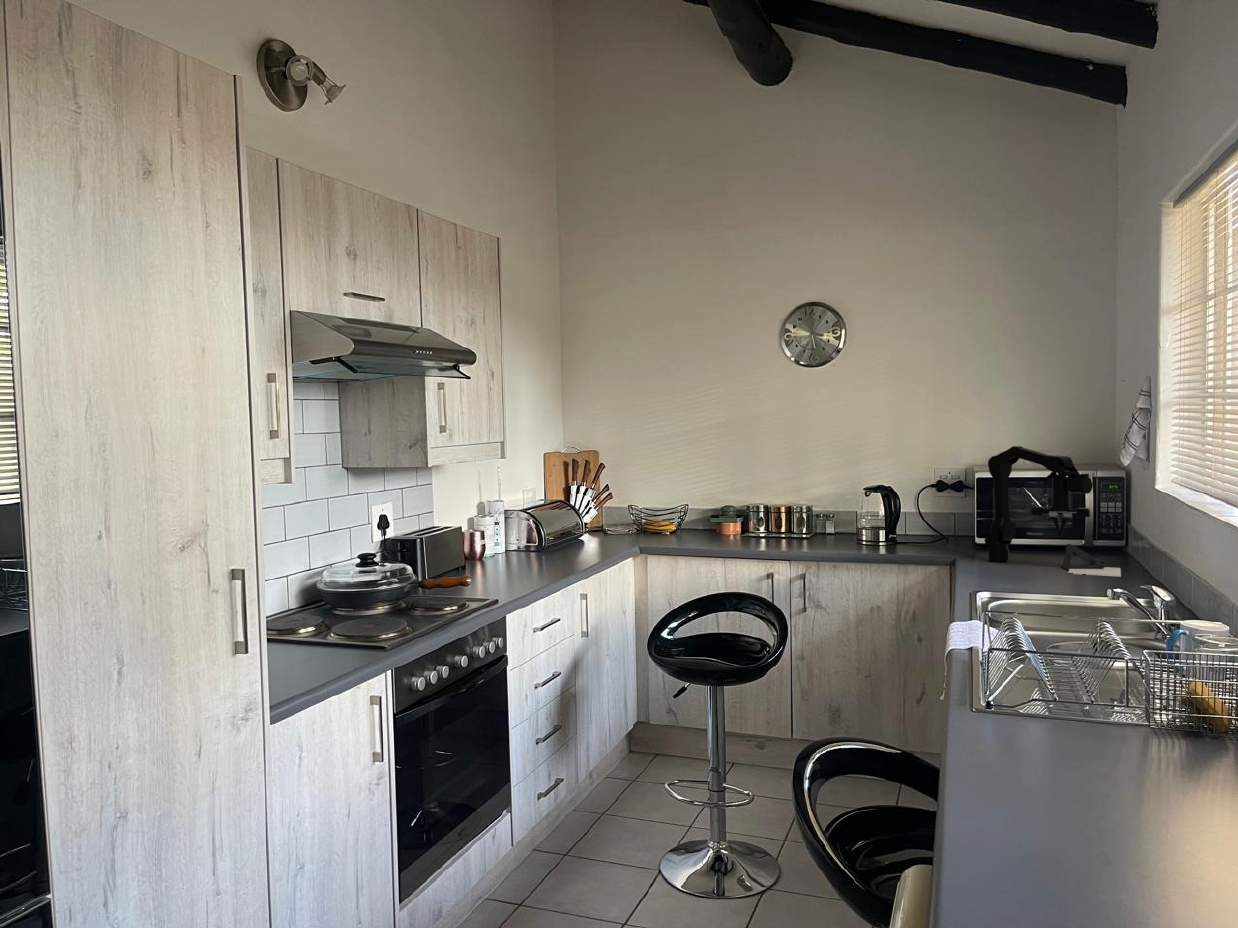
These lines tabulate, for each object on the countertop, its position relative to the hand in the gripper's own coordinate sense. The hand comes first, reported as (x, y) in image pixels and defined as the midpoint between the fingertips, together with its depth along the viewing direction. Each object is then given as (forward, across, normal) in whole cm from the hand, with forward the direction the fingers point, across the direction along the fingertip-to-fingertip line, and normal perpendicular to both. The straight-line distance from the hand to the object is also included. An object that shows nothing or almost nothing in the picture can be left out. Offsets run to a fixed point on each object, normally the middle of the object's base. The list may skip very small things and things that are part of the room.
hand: (1060, 536), depth 345 cm
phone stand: (+7, -2, -2) cm, 8 cm away
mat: (+12, -11, 0) cm, 16 cm away
